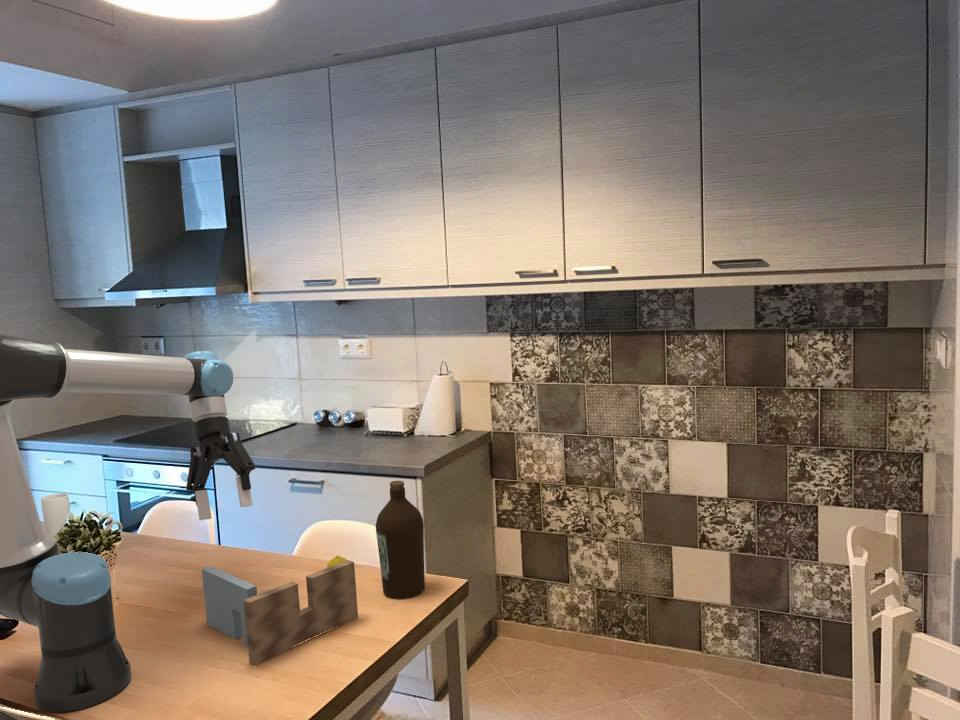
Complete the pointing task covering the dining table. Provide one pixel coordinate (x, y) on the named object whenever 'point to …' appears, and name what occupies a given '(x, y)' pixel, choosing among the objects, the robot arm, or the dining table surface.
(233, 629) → the slate slotted plate
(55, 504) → the drinking glass
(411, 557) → the dark brown bottle
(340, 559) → the lemon
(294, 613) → the walnut slotted board
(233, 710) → the dining table surface
